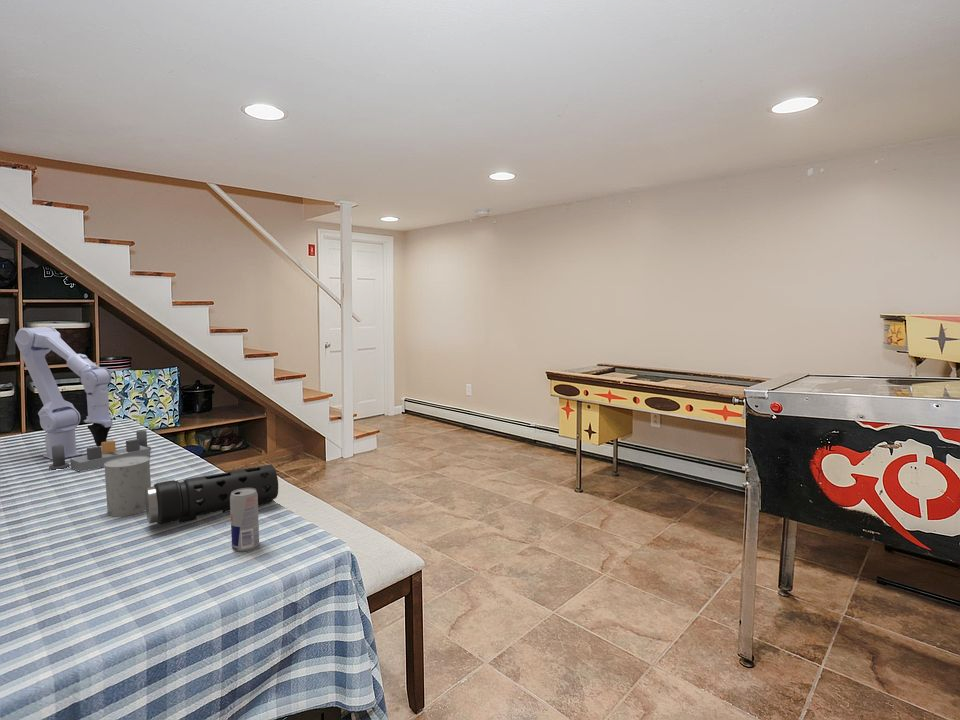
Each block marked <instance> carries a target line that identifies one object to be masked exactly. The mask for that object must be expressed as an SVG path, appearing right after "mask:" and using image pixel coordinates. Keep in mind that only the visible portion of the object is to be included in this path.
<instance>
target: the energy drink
mask: <svg viewBox="0 0 960 720" xmlns="http://www.w3.org/2000/svg"><path fill="white" fill-rule="evenodd" d="M229 512H230V531H231V532H230V534H231V536H230V537H231V548H232V550H234V551H236V552H247V551H251V550H254V549H255V548H257V547H258V546H259V544H260V524H259V521H260V520H259V505H258V494H257V491H256V489H254V488H241V489H237V490H234V491H232V492H231V496H230V510H229Z"/></svg>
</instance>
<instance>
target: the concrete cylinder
mask: <svg viewBox="0 0 960 720" xmlns="http://www.w3.org/2000/svg"><path fill="white" fill-rule="evenodd" d="M150 460H151V457H147V456H128V457H122V458H117V459H113V460H110V461H107V462H105V463H104V466H105V467H104V479H105V493H106V495H105V496H106V507H107V508H106V509H107V510H106V513H107V515H108V516H112V517H126V516H133V515H136V514H140V513H143V512H146V505H145V489H146V488H147V487H152V483H151V482H152V480H151V479H152V478H151V466H150V465H151V464H150V463H151V462H150Z"/></svg>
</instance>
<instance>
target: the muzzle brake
mask: <svg viewBox="0 0 960 720" xmlns="http://www.w3.org/2000/svg"><path fill="white" fill-rule="evenodd" d="M241 488H254V489H256V491H257V494H258V506H261V504H262V505H267V504H271V503H273V501H274V500H276V499H277V497H278V495H279V479H278V473H277V470H276V468H275V466H274V465H272V464H266V465H261V466H260V465H259V466H255V467H249V468H242V469H237V470H231V471H225V472H220V473H213V474H209V475H208V474H207V475H203V476H197V477H191V478H186V479H184V480H183V481H181V482H179V481H178V480H175V479H173V480H172V479H171V480H167V481H166V480H165V481H161V482H156V483H154V484H153V486H151V487H147V488H146V489H145V505H146V511H145V513H146V518H147V519H146V520H147V522H148V525H152V524H155V523H156V524H157V525H164V524H169V523H173V522H179V523H180V524H182V523H186V522H190V521H192V522H193V521H196V520H197V518H198V517H200V516H204V515H205V516H206V515H210V514H214V513H218V512H221V513H223V514H224V513H227V512H228V511H229V512H230V496H231V492H232V491H234V490H237V489H241ZM270 502H271V503H270Z"/></svg>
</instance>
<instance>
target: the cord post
mask: <svg viewBox="0 0 960 720" xmlns="http://www.w3.org/2000/svg"><path fill="white" fill-rule="evenodd" d="M147 432H148V431H147V430H137V431H136V432H135V433H136V439H139V443H140V445H141V446H144V447H147V448H150V450H151V451H152V447H151V446H148V435H147Z"/></svg>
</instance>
